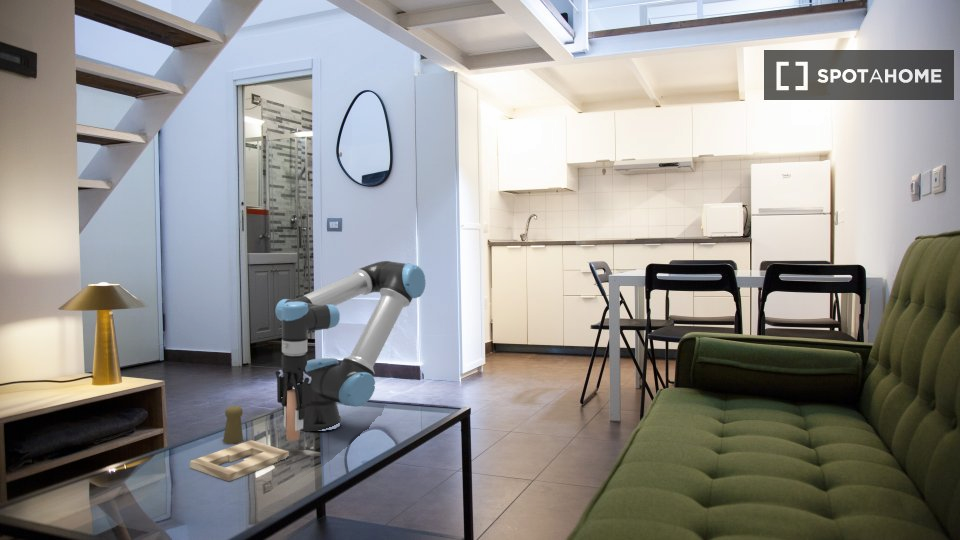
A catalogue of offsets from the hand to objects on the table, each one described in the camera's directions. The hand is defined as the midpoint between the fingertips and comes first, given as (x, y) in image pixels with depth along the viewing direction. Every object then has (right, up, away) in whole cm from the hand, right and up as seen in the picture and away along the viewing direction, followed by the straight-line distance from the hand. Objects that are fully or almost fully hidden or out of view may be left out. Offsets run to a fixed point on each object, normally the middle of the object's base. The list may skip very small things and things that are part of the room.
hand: (293, 427), depth 209 cm
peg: (0, -3, 0) cm, 3 cm away
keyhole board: (-13, -8, -10) cm, 18 cm away
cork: (-21, -6, +7) cm, 23 cm away
